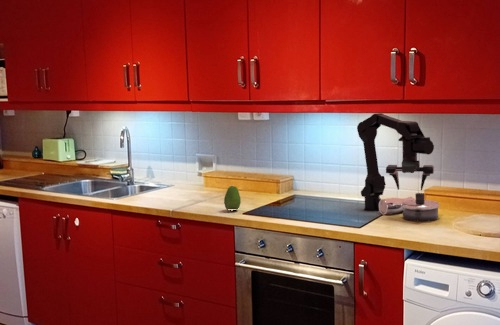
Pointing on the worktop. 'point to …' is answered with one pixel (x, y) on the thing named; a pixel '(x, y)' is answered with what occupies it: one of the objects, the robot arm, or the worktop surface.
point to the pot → (420, 215)
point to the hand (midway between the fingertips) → (409, 189)
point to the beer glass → (392, 205)
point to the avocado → (232, 198)
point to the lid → (420, 203)
